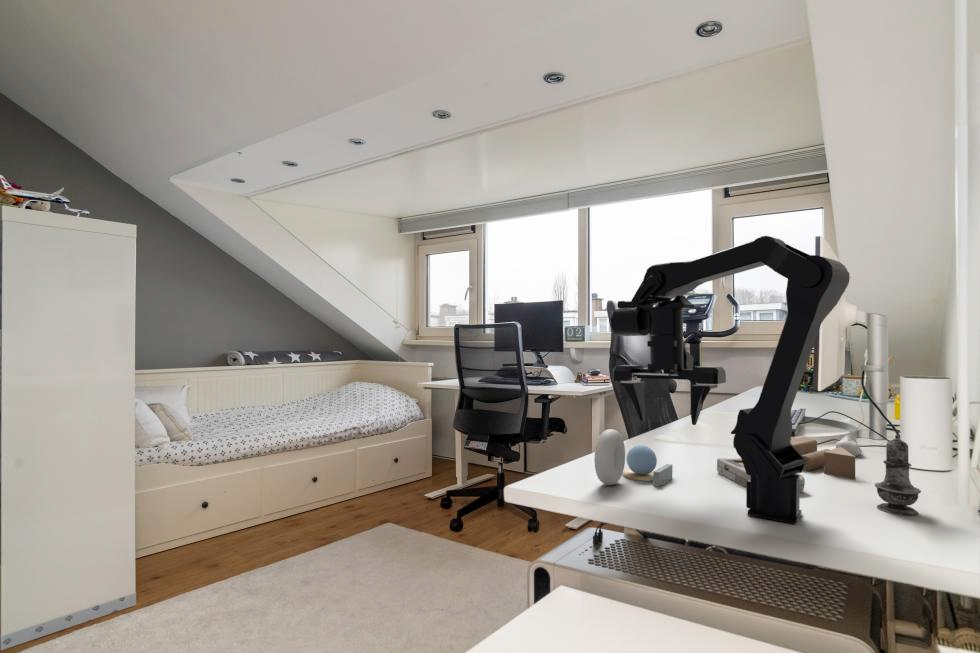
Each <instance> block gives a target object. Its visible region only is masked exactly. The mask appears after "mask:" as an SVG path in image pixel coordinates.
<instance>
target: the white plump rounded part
mask: <svg viewBox="0 0 980 653" xmlns="http://www.w3.org/2000/svg"><path fill="white" fill-rule="evenodd" d="M625 463H626V447H625V440H624V439H623V436H622V435H621V433H620V432H619V431H618V430H616V429H613V428H611V429H610V428H609V429H605V430H603V431H602V432H601V433H600V434H599V436H598V438H597V441H596V444H595V450H594V469H595V473H596V477H597V478H598V480H599V482H600V483H602V484H603V485H605V486H613V485H615V484H617V483H619V481H620V480H621V478H622V476H623V475H622V473H623V472H624V469H625Z"/></svg>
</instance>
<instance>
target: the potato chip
mask: <svg viewBox="0 0 980 653" xmlns="http://www.w3.org/2000/svg"><path fill="white" fill-rule="evenodd" d="M653 475H654V471H652V472H651V473H649V474H646V475H639V474H636V473H634V472H633V471H632V470H631V469H629V470H625V471H624V470H623V473H622V476H623V477H624V478H625V479H629V480H634V481H641V482H651V481H652V482H653Z"/></svg>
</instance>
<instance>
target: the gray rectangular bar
mask: <svg viewBox="0 0 980 653" xmlns="http://www.w3.org/2000/svg"><path fill="white" fill-rule="evenodd" d="M653 472H654V475H653V481H652V482H653V486H656V487H660V486H661V485H663V483H664V484H665V483H667V482H669V481H671V479H673V464H669V463H666V464H665V465H663V466H661V467H659V468H657V469H654V470H653Z"/></svg>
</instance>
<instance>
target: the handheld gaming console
mask: <svg viewBox="0 0 980 653" xmlns="http://www.w3.org/2000/svg"><path fill="white" fill-rule="evenodd" d="M716 471H717V473H718V474H719V475H721V476H722V477H725V478H726V479H729V480H731V481H733V482H735V483H737V484H739V485H741V486H742V487H745V488H746V482H747V481H748V480H749V479H750V475H747V474H746V471H745V468H744V465H743V462H742V459H741V457H740V458H737V457H735V458H733V457H732V458H725V457H724V458H722V457H721V458H717V459H716ZM797 475H800V486H799V494H800V493H802V492H804V490H805V486H806V485H805V484H806V483H805V482H806V481H805V477H804V476H803V475H802V474H801V473H797Z"/></svg>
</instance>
